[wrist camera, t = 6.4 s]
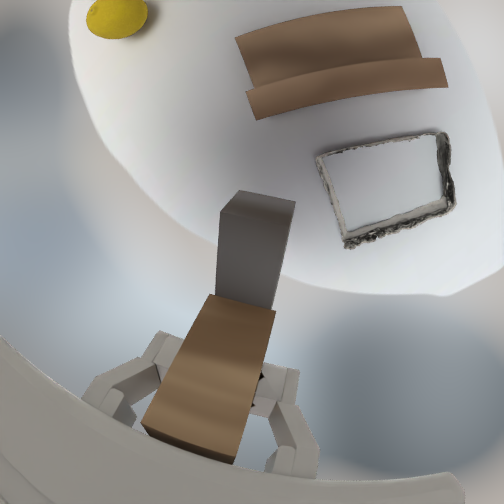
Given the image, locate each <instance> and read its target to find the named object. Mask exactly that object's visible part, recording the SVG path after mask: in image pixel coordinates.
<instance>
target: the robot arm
mask: <svg viewBox="0 0 504 504" xmlns="http://www.w3.org/2000/svg"><path fill="white" fill-rule="evenodd" d="M184 340H185V339H182V338H179V337H176V336H173V335H171V334H168V333H165V332H163V331H159V332H157V333H156V335H155V336H154V338H153V340H152V341H151V343H150V344H149V346H148V347H147V349H146V350H145V352H144V354H143V355H142V357H141V358H140V357H137V358H135V359H132V360H130V361H128V362H126V363H124V364H122V365H120V366H118V367H116V368H113V369H111V370H109V371H107V372H105V373H103V374H101V375H98V376H96V377H95V378H94V380H93V381H92V383H91V384H90V386H89V387H88V389H87V390H86V392H85V393H84V395H83V396H82V398H81V399H80V398H78V397H76V396H75V395H73V394H72V393H71V392H69V391H68V390H66V389H65V388H63V387H62V386H61V385H59V384H58V383H56V382H55V381H54V380H52V379H51V378H49V377H48V376H47V375H46V374H44V373H43V372H42V371H41V370H39V369H38V368H37V367H36V366H34V365H33V364H32V363H31V362H29V361H28V360H27V359H26V358H25V357H24V356H23V355H21V354H20V353H19V352H18V351H17V350H16V349H15V348H14V347H13V346H12V345H11V344H10V343H8V342H7V341H6V340H5V339H4V338H3V337H2V336H1V335H0V504H465V492H464V489H463V487H462V486H461V484H460V483H459V481H458V480H457V479H456V478H455V476H454V475H453V474H452V473H450V472H443V473H438V474H432V475H426V476H419V477H412V478H403V479H392V480H375V481H337V480H336V481H335V480H319V479H316V474H317V468H318V461H319V455H320V449H319V447H318V445H317V443H316V441H315V439H314V437H313V435H312V433H311V431H310V429H309V427H308V425H307V423H306V421H305V419H304V417H303V414H302V412H301V410H300V408H299V406H298V405H295V400H296V394H297V387H298V381H299V375H300V372H299V370H297V369H292V368H287V367H283V366H278V365H274V364H269V363H265V362H264V363H263V366H262V370H261V373H260V376H259V380H258V383H257V387H256V390H255V394H254V398H253V401H252V405H251V408H250V412H249V413H250V414H254V415H258V416H262V417H266V418H268V420H269V423H270V426H271V428H272V431H273V433H274V437H275V440H276V442H277V445H278V449H277V450H276V451H275V452H274V453H273V454H272V455H271V456H270V457H269V459H267V462H266V465H265V469H264V472H261V471H256V470H251V469H247V468H243V467H238V466H234V465H230V464H227V463H223V462H219V461H216V460H213V459H209V458H206V457H203V456H200V455H197V454H194V453H191V452H188V451H185V450H182V449H180V448H177V447H174V446H172V445H169V444H167V443H164V442H162V441H160V440H157V439H155V438H153V437H150V436H148V435H146V434H144V433H142V432H139V431H137V430H135V429H133V428H132V426H133V424H134V422H135V420H136V418H137V416H136V414H135V412H134V411H133V409H132V407H131V405H133V404H134V403H136V402H138V401H139V400H141V399H142V398H144V397H146V396H147V395H149V394H150V393H152V392H153V391H155V390H156V389H158V388H159V386H160V384H161V382H162V381H163V379H164V377H165V375H166V373H167V371H168V369H169V367H170V366H171V364H172V362H173V360H174V358H175V356H176V354H177V352H178V351H179V349H180V347H181V345H182V343H183V341H184Z"/></svg>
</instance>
